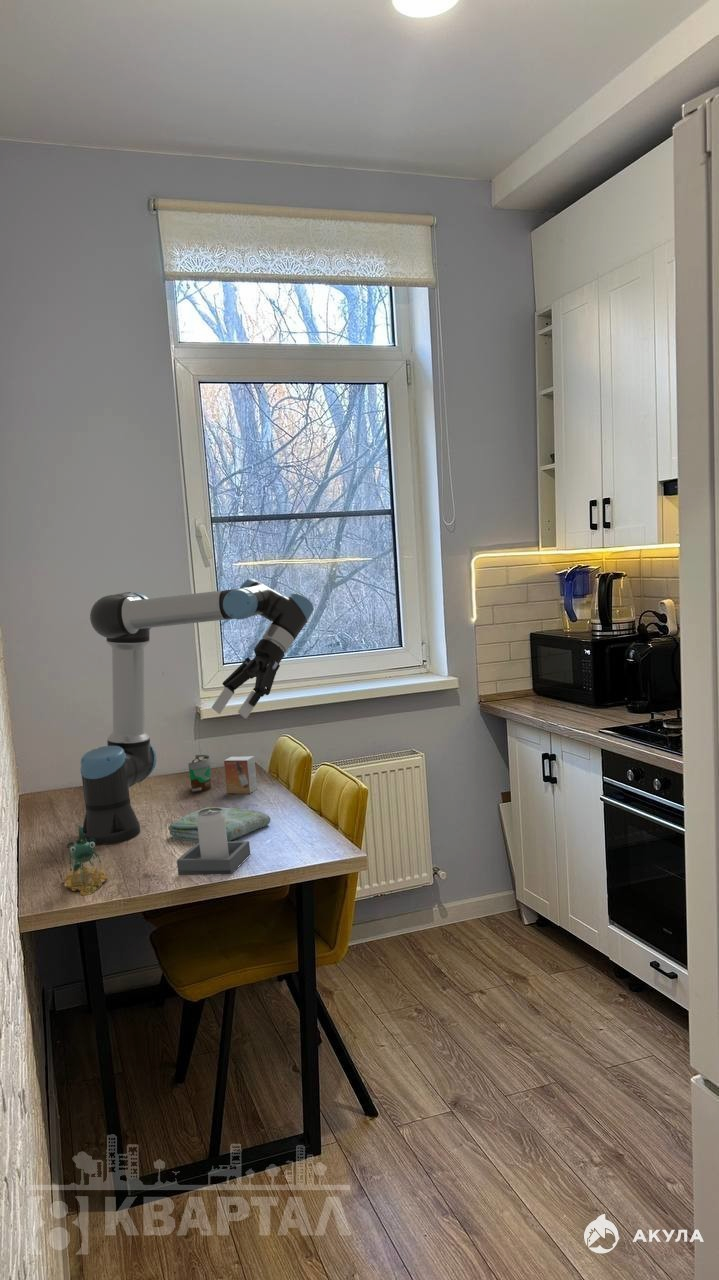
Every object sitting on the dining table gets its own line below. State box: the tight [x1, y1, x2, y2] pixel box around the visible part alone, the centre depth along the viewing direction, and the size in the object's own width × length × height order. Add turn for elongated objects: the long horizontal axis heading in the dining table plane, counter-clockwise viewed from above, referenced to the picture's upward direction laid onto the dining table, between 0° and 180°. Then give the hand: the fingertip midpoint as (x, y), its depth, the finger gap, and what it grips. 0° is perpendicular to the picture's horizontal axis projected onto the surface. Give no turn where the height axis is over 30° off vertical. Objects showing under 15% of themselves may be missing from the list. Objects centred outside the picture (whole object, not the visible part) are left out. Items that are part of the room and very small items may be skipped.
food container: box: [187, 754, 213, 794], centre depth 292 cm, size 12×6×10 cm, turn 179°
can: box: [197, 807, 229, 859], centre depth 218 cm, size 6×6×12 cm
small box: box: [223, 755, 258, 794], centre depth 285 cm, size 8×6×10 cm
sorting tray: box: [176, 840, 251, 876], centre depth 218 cm, size 13×13×4 cm
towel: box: [167, 806, 271, 843], centre depth 245 cm, size 18×21×5 cm
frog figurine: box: [63, 825, 109, 897], centre depth 213 cm, size 10×18×15 cm, turn 18°
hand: (228, 713), depth 234 cm, fingers open, 13 cm apart
